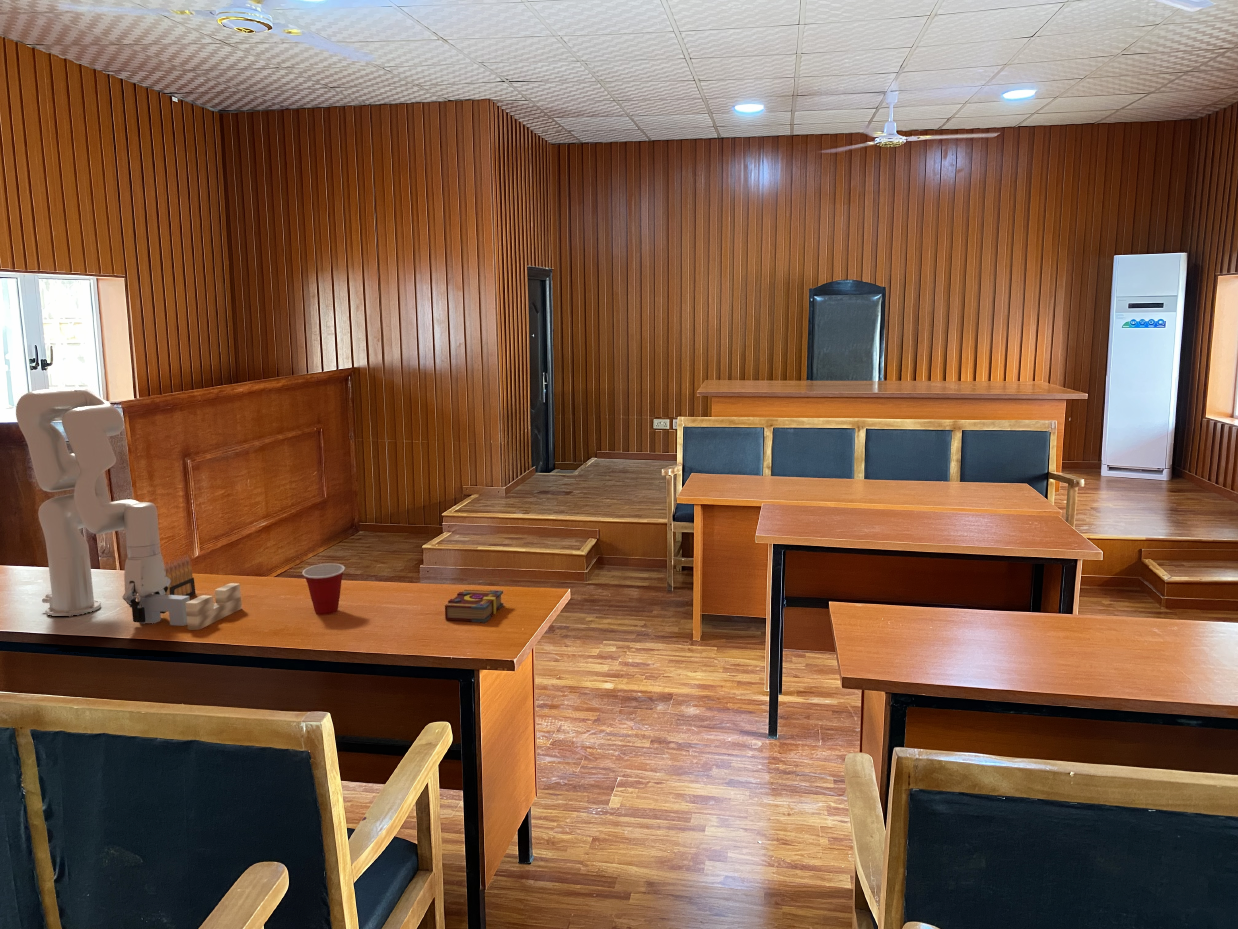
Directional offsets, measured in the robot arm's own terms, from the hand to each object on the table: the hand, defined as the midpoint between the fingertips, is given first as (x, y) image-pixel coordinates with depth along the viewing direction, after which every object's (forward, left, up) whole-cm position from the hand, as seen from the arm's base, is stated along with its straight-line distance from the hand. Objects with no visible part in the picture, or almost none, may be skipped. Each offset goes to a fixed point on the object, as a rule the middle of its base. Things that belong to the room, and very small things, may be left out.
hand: (149, 617), depth 227 cm
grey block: (+4, 0, -1) cm, 5 cm away
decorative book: (+81, +21, -2) cm, 84 cm away
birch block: (+15, +5, -1) cm, 16 cm away
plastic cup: (+41, +15, -2) cm, 44 cm away
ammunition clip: (-6, +19, -2) cm, 20 cm away
